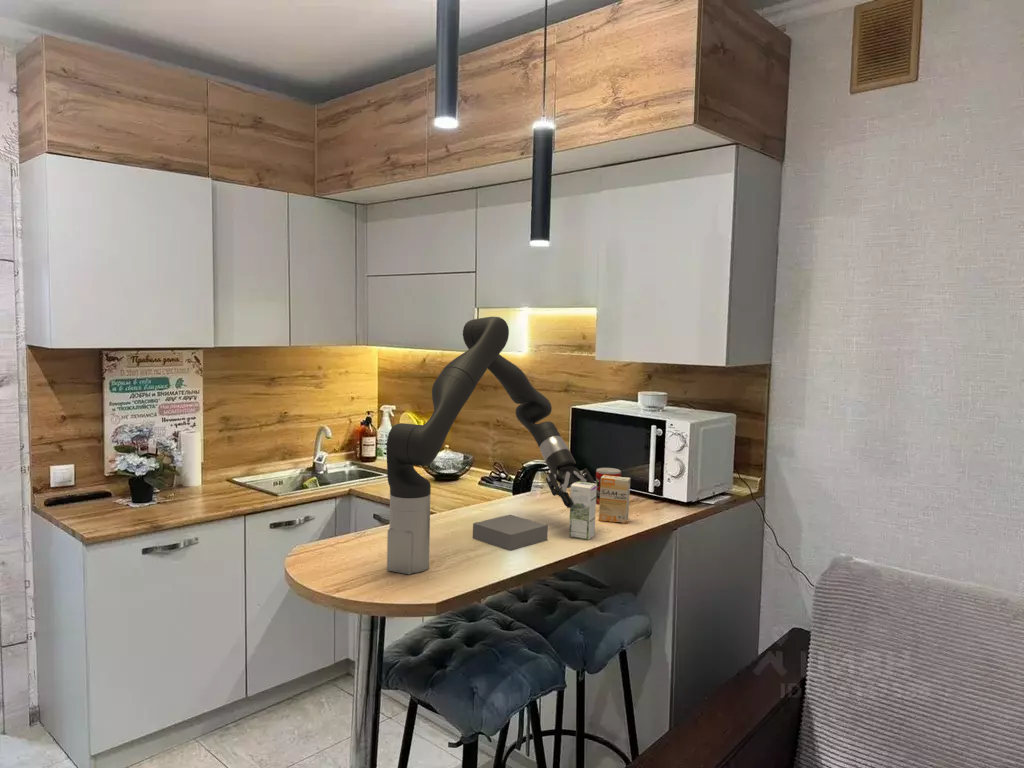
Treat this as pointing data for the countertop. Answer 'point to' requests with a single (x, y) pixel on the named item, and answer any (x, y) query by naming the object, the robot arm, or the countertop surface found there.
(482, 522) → the plate
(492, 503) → the countertop surface
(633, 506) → the countertop surface
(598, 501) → the canned food
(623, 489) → the supplement box
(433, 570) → the countertop surface
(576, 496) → the syrup box
